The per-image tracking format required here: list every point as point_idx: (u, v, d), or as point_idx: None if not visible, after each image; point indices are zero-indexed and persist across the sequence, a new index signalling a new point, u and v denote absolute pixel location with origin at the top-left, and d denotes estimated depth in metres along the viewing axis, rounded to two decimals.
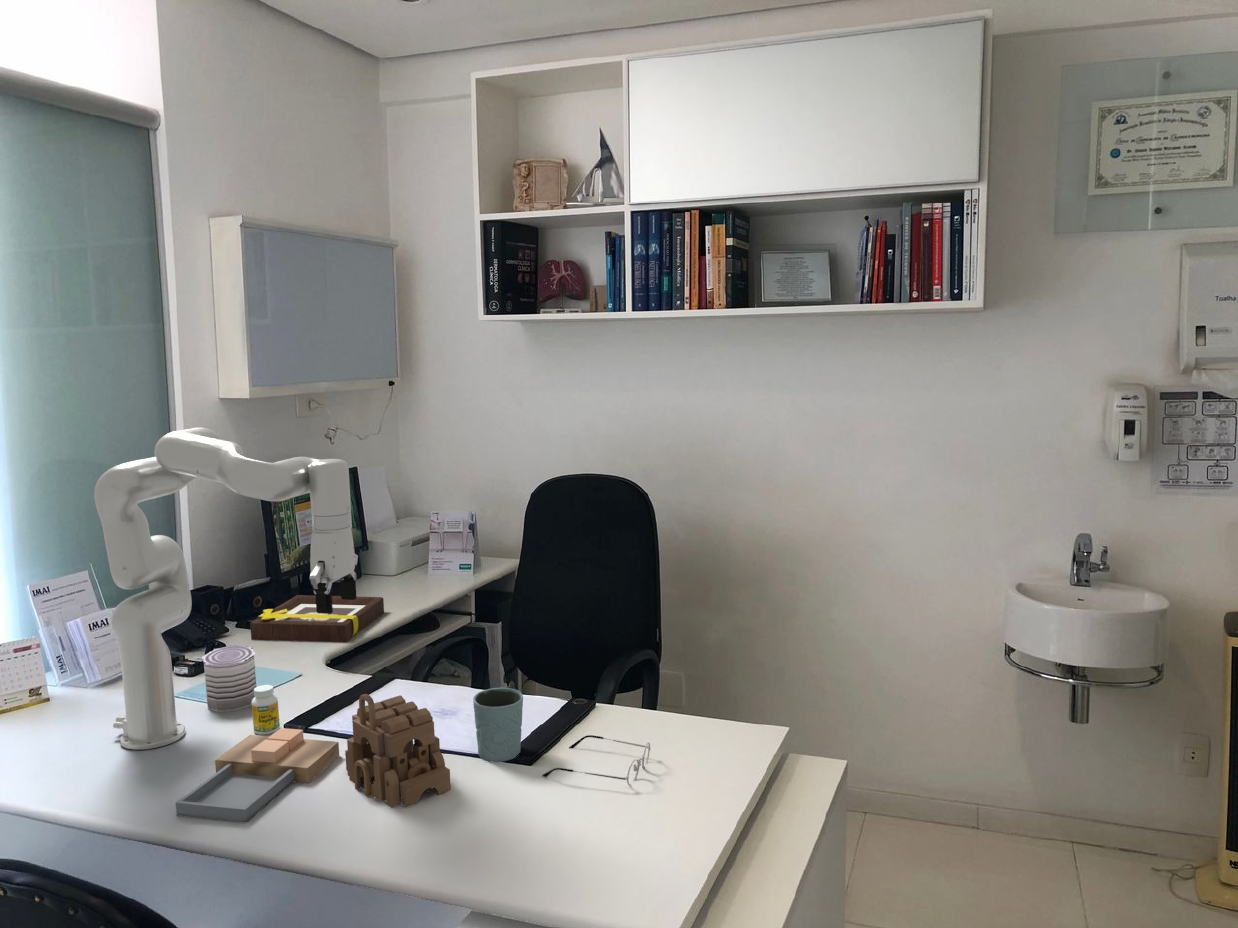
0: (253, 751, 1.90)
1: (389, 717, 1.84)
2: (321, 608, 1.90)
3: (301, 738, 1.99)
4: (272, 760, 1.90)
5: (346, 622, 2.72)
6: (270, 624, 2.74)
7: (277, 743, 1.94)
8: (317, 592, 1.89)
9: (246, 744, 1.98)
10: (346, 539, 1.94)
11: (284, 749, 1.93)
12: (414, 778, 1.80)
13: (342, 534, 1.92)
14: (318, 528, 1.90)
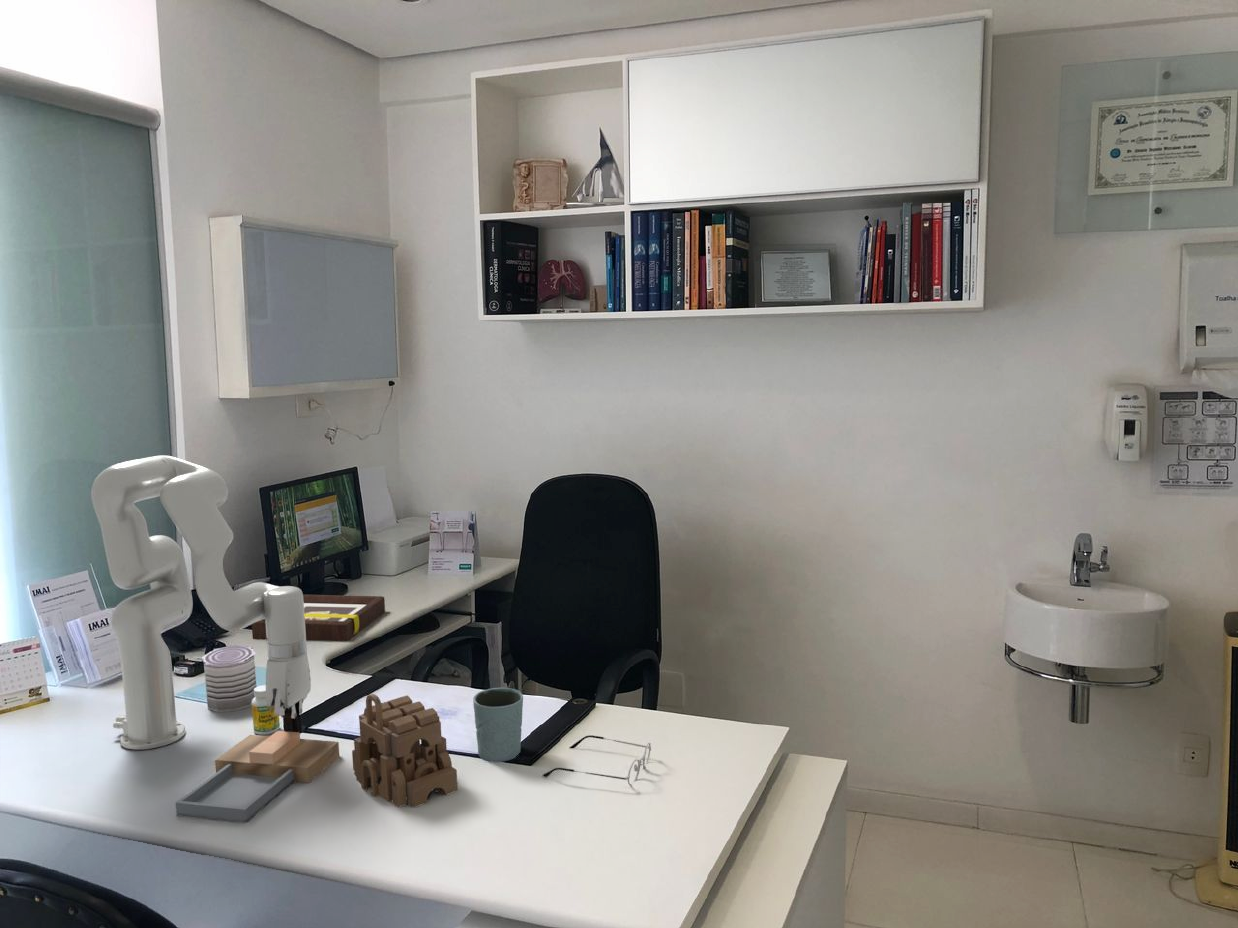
0: (251, 753, 1.90)
1: (396, 717, 1.84)
2: (288, 731, 1.99)
3: (298, 741, 1.98)
4: (270, 762, 1.89)
5: (347, 621, 2.73)
6: None
7: (275, 744, 1.93)
8: (284, 716, 1.98)
9: (246, 744, 1.98)
10: (302, 664, 1.99)
11: (283, 750, 1.92)
12: (421, 778, 1.80)
13: (297, 660, 1.97)
14: (273, 656, 1.95)
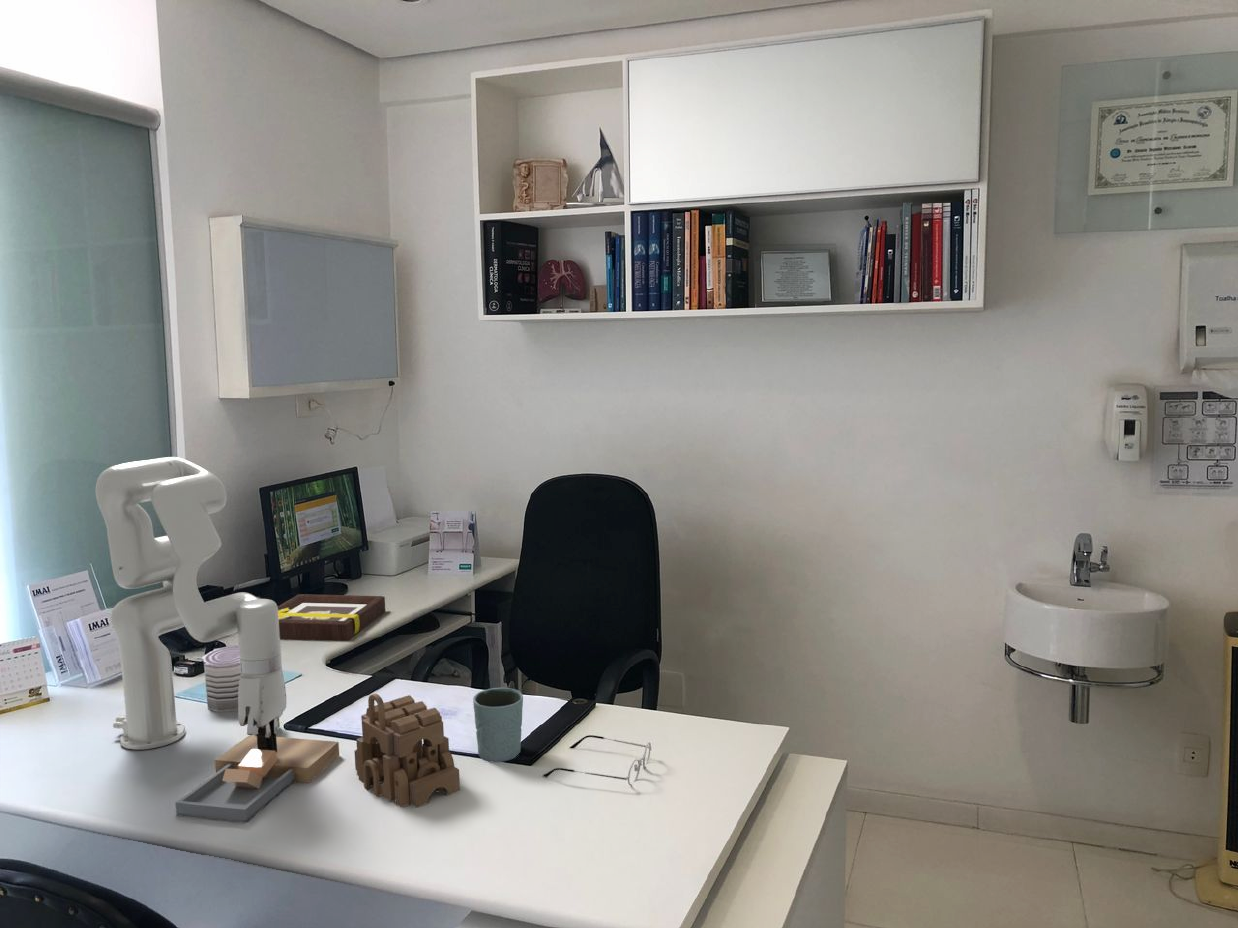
0: None
1: (398, 717, 1.84)
2: None
3: (274, 759, 1.89)
4: None
5: (347, 621, 2.73)
6: None
7: (241, 783, 1.82)
8: (258, 735, 1.89)
9: (246, 744, 1.98)
10: (276, 680, 1.90)
11: (251, 778, 1.82)
12: (423, 778, 1.80)
13: (271, 677, 1.88)
14: (246, 672, 1.86)
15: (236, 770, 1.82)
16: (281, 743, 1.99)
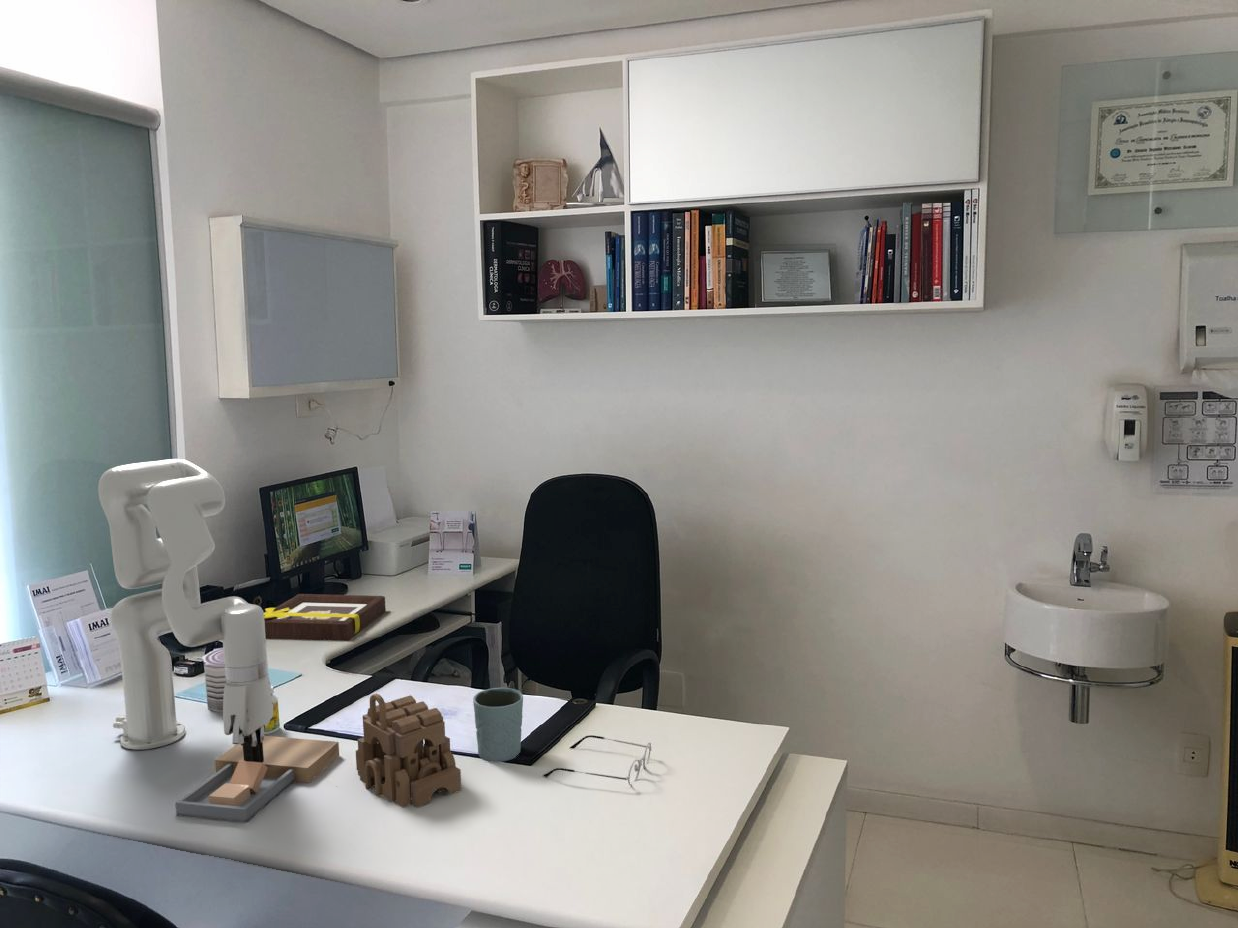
0: None
1: (400, 717, 1.84)
2: (248, 760, 1.85)
3: (264, 769, 1.85)
4: None
5: (348, 621, 2.74)
6: (272, 623, 2.75)
7: None
8: (244, 744, 1.84)
9: None
10: (263, 688, 1.85)
11: (238, 800, 1.78)
12: (425, 778, 1.80)
13: (257, 684, 1.83)
14: (231, 680, 1.81)
15: (220, 798, 1.77)
16: (281, 743, 1.99)
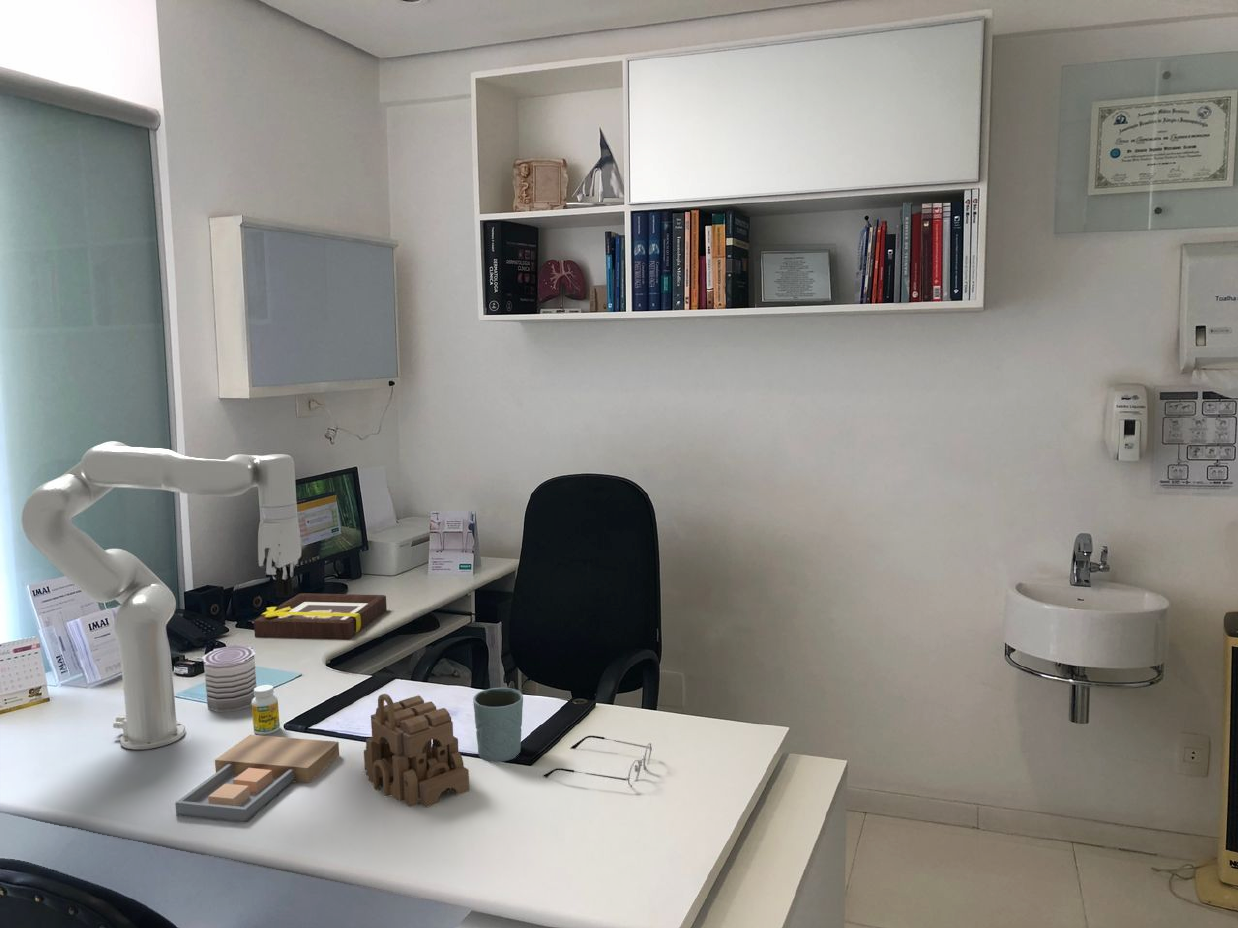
0: None
1: (408, 717, 1.84)
2: (279, 592, 2.10)
3: (270, 779, 1.87)
4: None
5: (349, 620, 2.74)
6: (273, 622, 2.76)
7: None
8: (276, 577, 2.09)
9: (246, 744, 1.98)
10: (292, 528, 2.10)
11: (237, 800, 1.78)
12: (433, 778, 1.80)
13: (288, 524, 2.08)
14: (265, 518, 2.06)
15: (220, 798, 1.77)
16: (281, 743, 1.99)
